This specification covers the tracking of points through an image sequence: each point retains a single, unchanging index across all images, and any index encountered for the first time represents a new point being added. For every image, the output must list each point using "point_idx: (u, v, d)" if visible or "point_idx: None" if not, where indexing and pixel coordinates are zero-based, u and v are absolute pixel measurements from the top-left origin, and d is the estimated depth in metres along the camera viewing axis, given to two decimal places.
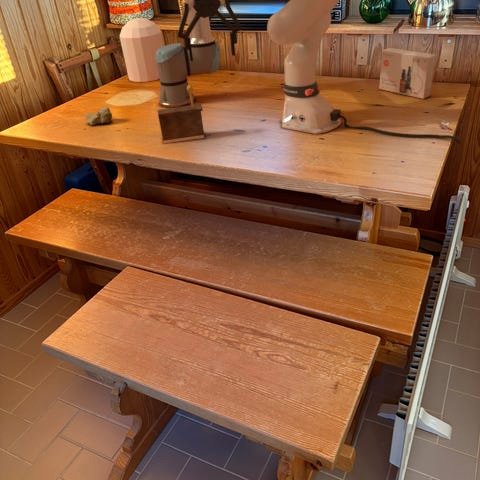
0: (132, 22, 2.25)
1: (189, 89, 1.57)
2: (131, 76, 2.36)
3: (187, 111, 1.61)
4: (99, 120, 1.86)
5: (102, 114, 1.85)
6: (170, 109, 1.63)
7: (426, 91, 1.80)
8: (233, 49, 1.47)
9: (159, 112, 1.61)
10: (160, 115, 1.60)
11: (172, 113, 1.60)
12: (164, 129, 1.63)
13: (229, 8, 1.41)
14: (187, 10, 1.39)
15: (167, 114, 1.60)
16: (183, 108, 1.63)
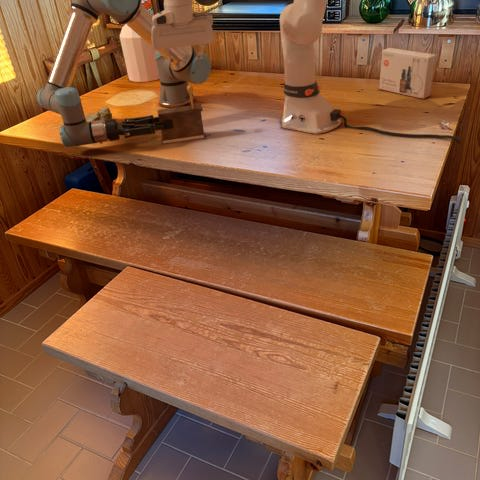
0: None
1: (189, 89, 1.57)
2: (131, 76, 2.36)
3: (187, 111, 1.61)
4: None
5: (102, 114, 1.85)
6: (170, 109, 1.63)
7: (426, 91, 1.80)
8: None
9: (159, 112, 1.61)
10: (160, 115, 1.60)
11: (172, 113, 1.60)
12: None
13: None
14: None
15: (167, 114, 1.60)
16: (183, 108, 1.63)
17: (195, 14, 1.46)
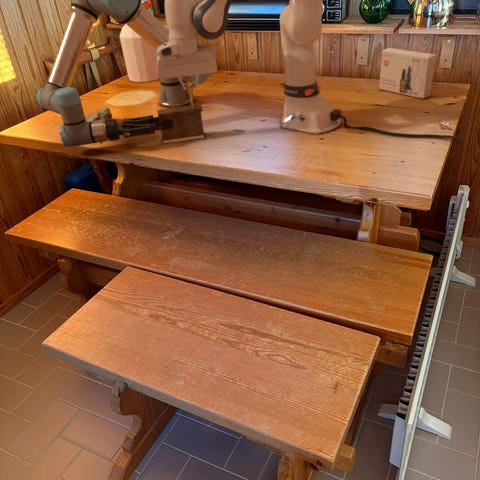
0: None
1: (189, 89, 1.57)
2: (131, 76, 2.36)
3: (187, 111, 1.61)
4: None
5: (102, 114, 1.85)
6: (170, 109, 1.63)
7: (426, 91, 1.80)
8: None
9: (159, 112, 1.61)
10: (160, 115, 1.60)
11: (172, 113, 1.60)
12: None
13: None
14: None
15: (167, 114, 1.60)
16: (183, 108, 1.63)
17: (199, 45, 1.52)
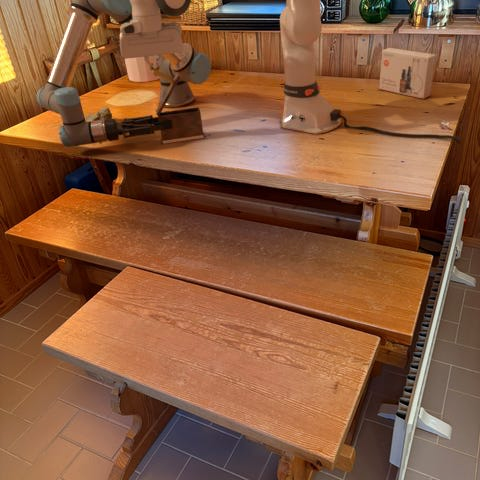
0: None
1: (154, 73, 1.53)
2: (131, 76, 2.36)
3: (171, 90, 1.56)
4: None
5: (102, 114, 1.85)
6: (162, 100, 1.61)
7: (426, 91, 1.80)
8: None
9: (157, 112, 1.61)
10: (158, 113, 1.60)
11: (164, 103, 1.58)
12: None
13: None
14: None
15: (162, 107, 1.59)
16: (168, 90, 1.58)
17: (164, 24, 1.46)
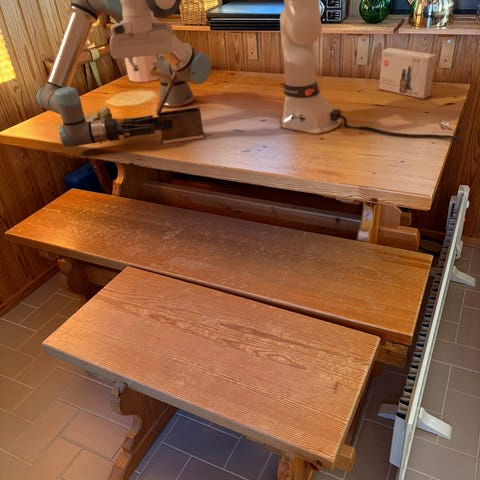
0: None
1: (151, 73, 1.53)
2: (131, 76, 2.36)
3: (169, 88, 1.56)
4: None
5: (102, 114, 1.85)
6: (161, 100, 1.61)
7: (426, 91, 1.80)
8: None
9: (157, 112, 1.61)
10: (158, 113, 1.60)
11: (163, 102, 1.58)
12: None
13: None
14: None
15: (161, 107, 1.59)
16: (166, 89, 1.58)
17: (154, 24, 1.46)
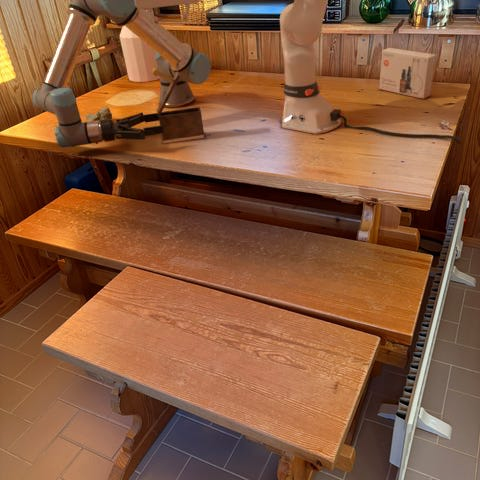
0: None
1: (154, 73, 1.53)
2: (131, 76, 2.36)
3: (171, 89, 1.56)
4: (99, 120, 1.86)
5: (102, 114, 1.85)
6: (162, 100, 1.61)
7: (426, 91, 1.80)
8: None
9: (157, 111, 1.61)
10: (159, 113, 1.60)
11: (164, 102, 1.58)
12: (164, 129, 1.63)
13: None
14: None
15: (162, 107, 1.59)
16: (168, 89, 1.58)
17: None
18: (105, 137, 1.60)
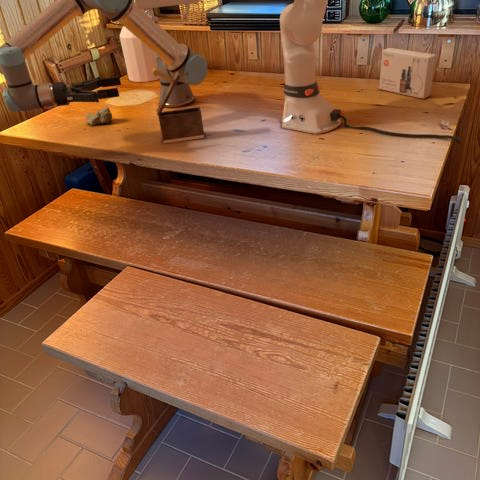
0: None
1: (154, 73, 1.53)
2: (131, 76, 2.36)
3: (171, 89, 1.56)
4: (99, 120, 1.86)
5: (102, 114, 1.85)
6: (162, 100, 1.61)
7: (426, 91, 1.80)
8: None
9: (157, 111, 1.61)
10: (159, 113, 1.60)
11: (164, 102, 1.58)
12: (164, 129, 1.63)
13: None
14: None
15: (162, 107, 1.59)
16: (168, 89, 1.58)
17: None
18: (57, 100, 1.51)
